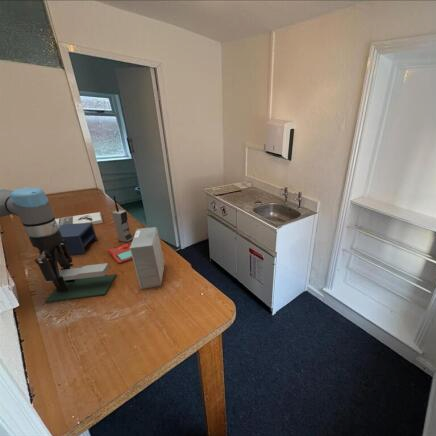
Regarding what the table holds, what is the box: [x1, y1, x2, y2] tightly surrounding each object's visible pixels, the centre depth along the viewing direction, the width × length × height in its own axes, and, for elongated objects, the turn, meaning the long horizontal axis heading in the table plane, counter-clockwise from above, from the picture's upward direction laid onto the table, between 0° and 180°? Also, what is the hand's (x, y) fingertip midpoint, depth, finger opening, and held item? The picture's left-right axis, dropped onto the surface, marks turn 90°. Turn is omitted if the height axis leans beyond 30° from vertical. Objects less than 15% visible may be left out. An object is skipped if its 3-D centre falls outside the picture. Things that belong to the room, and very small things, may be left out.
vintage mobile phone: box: [111, 195, 134, 243], centre depth 119 cm, size 4×5×25 cm
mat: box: [44, 273, 118, 304], centre depth 91 cm, size 18×12×1 cm, turn 107°
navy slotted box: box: [58, 223, 98, 256], centre depth 112 cm, size 12×14×10 cm
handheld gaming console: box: [107, 242, 133, 265], centre depth 112 cm, size 9×1×15 cm
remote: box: [43, 262, 110, 283], centre depth 88 cm, size 18×5×2 cm, turn 107°
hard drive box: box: [130, 226, 166, 290], centre depth 96 cm, size 16×8×20 cm, turn 22°
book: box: [55, 211, 104, 228], centre depth 136 cm, size 23×14×2 cm, turn 130°
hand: (66, 286), depth 89 cm, fingers closed on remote, 5 cm apart
